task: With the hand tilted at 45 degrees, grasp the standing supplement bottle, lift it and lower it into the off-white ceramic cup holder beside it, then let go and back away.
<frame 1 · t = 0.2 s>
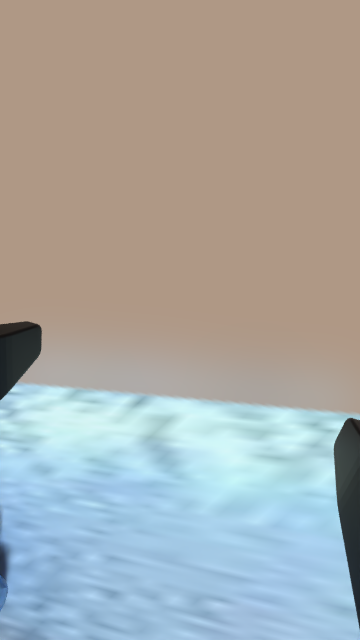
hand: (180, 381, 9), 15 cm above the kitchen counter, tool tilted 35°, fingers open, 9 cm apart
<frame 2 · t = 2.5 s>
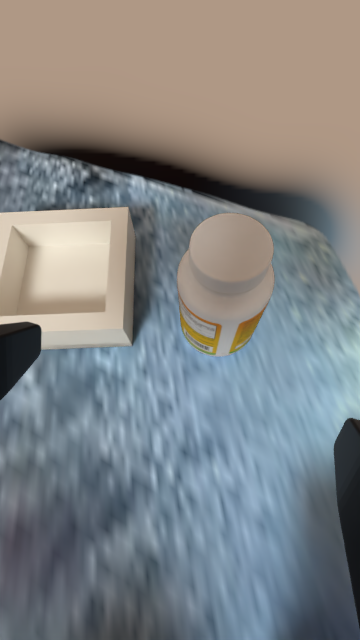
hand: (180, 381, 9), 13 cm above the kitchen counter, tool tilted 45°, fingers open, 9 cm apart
supplement bottle: (216, 324, 24), on the kitchen counter
cup holder: (72, 289, 26), on the kitchen counter
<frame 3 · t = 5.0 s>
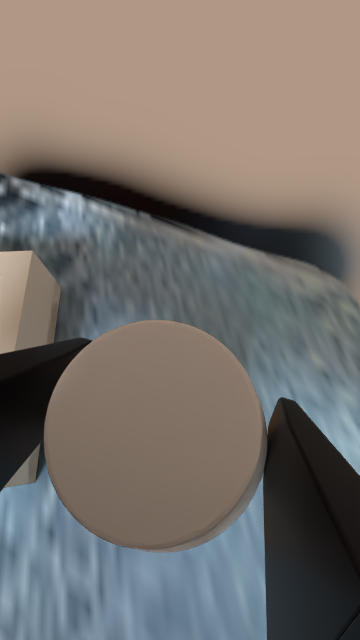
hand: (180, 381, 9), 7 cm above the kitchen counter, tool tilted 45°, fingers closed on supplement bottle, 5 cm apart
supplement bottle: (176, 441, 15), on the kitchen counter, touching gripper
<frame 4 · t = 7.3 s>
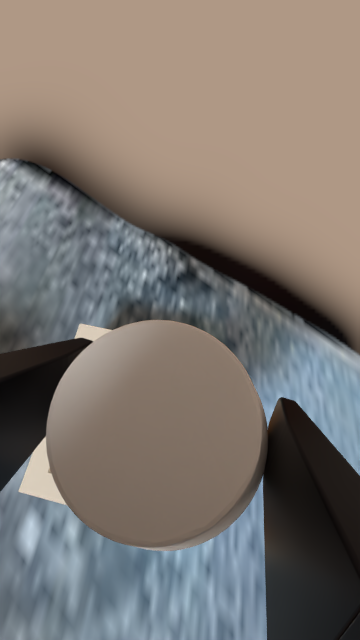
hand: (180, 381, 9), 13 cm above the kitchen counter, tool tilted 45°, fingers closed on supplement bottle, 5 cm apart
supplement bottle: (178, 440, 15), point 6 cm above the kitchen counter, touching gripper
cup holder: (141, 423, 21), on the kitchen counter
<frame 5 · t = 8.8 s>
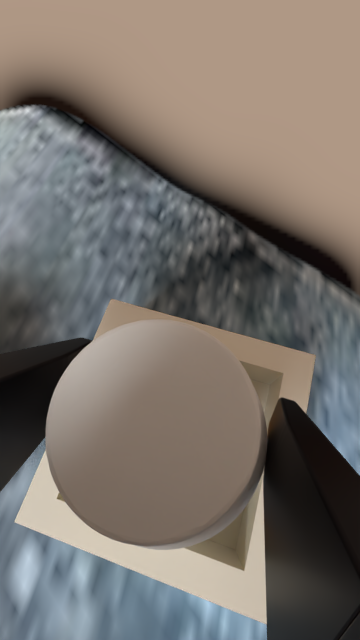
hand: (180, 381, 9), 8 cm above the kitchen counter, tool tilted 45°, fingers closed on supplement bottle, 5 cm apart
supplement bottle: (177, 440, 15), point 2 cm above the kitchen counter, touching gripper
cup holder: (179, 436, 16), on the kitchen counter
when the fingers open (8 cm above the kitchen counter, at t = 9.6 s): supplement bottle stays where it is, resting on cup holder.
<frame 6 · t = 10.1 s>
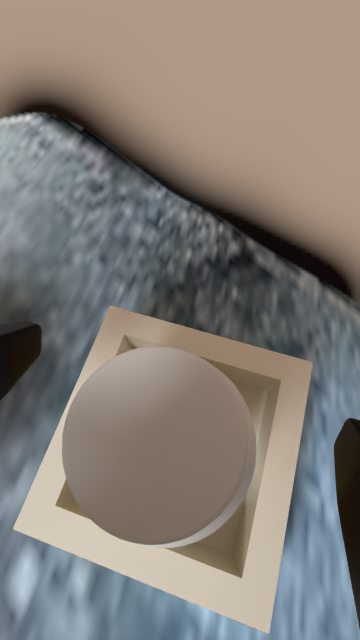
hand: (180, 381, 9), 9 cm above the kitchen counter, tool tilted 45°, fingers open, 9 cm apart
supplement bottle: (176, 445, 16), point 1 cm above the kitchen counter, touching cup holder
cup holder: (178, 442, 17), on the kitchen counter
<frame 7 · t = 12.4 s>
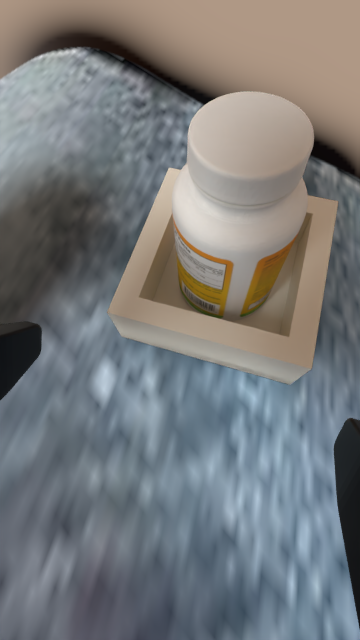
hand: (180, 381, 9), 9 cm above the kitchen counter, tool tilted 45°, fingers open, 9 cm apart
supplement bottle: (223, 283, 19), point 1 cm above the kitchen counter, touching cup holder
cup holder: (223, 286, 20), on the kitchen counter
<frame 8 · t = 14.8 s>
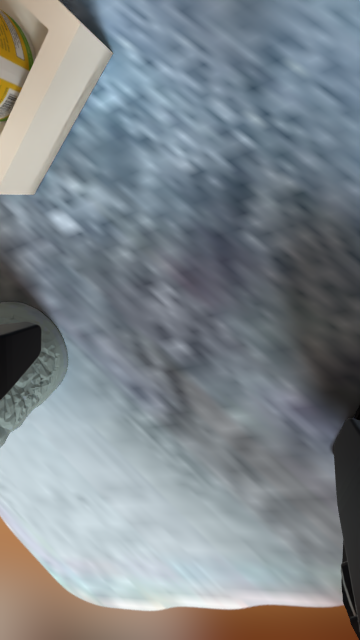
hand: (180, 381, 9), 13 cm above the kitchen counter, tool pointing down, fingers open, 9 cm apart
supplement bottle: (4, 72, 19), point 1 cm above the kitchen counter, touching cup holder
grey green cup: (26, 345, 27), on the kitchen counter
cup holder: (9, 73, 20), on the kitchen counter
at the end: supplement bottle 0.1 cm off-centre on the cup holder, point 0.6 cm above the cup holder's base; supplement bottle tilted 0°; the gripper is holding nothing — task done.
